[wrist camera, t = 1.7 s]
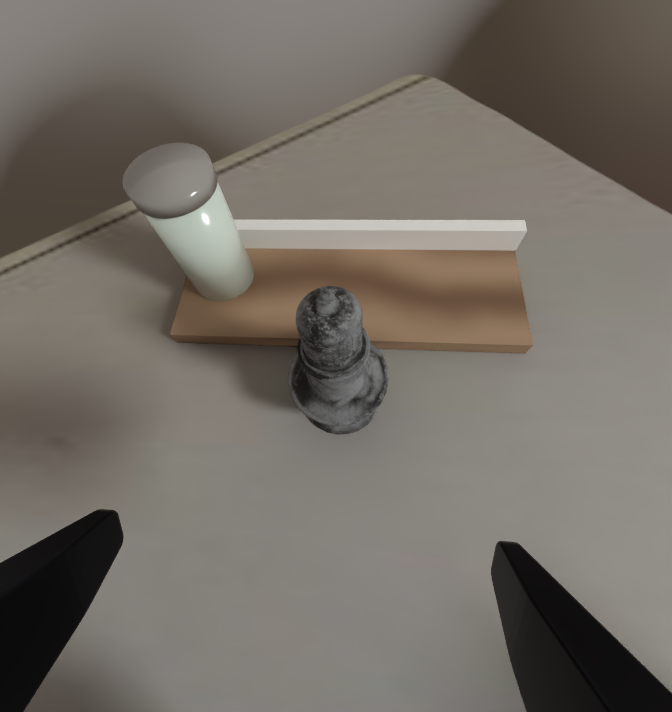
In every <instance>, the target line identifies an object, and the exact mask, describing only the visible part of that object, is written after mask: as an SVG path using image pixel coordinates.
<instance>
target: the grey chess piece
mask: <svg viewBox="0 0 672 712" xmlns="http://www.w3.org/2000/svg"><path fill="white" fill-rule="evenodd" d="M296 327H297V330H298V333H299V336H300V338H299V341H298V344H297V355H296V356H295V358H294V359H293V361H292V364H291V367H290V371H289V388H290V392H291V396H292V398H293V400H294V401H295V403H296V405H297V406H298V408H299V409H300V410H301V411H302V412H303V413H304V414H305V415H307V416H308V417H309V419H310V420H311V421H312V422H313V423H314V424H315V425H316V426H317V427H318V428H320V429H322V430H324V431H326V432H329V433H334V434H349V433H352V432H355V431H358V430H360V429H362V428H363V427H365V426H366V425H367V424H368V423H369V422H370V421H371V420H372V419H373V418H374V416H375V414H376V412H377V410H378V408H379V405H380V404H381V402H382V400H383V398H384V396H385V394H386V391H387V386H388V380H389V377H388V368H387V365H386V362H385V360H384V357H383V355H382V354H381V353H380V351H379V350H378V349H377V348H376V346H375V345H373V344H372V343H371V342H370V339H369V336H368V334H367V331H366V330H365V329H364V327H363V315H362V309H361V306H360V304H359V301H358V300H357V298H356V297H355V296H354V294H352V293H351V292H349V291H348V290H346V289H344V288H341V287H336V286H324V287H320V288H317V289H315V290H313V291H312V292H310V293H308V294H307V295H306V296H305V297H304V298H303V299H302V300H301V302H300V303H299V305H298V308H297V311H296Z"/></svg>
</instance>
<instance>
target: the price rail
mask: <svg viewBox="0 0 672 712" xmlns="http://www.w3.org/2000/svg"><path fill="white" fill-rule="evenodd" d="M234 222H235V225H236V227H237V229H238V232H239V234H240V237H241V239H242V241H243V244H244V246H245V248H269V249H387V250H505V251H516V249H517V247H518V246H519V244H520V242H521V241H522V239H523V237H524V235H525V234H526V232H527V228H526V223H525V220H234Z"/></svg>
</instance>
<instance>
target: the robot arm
mask: <svg viewBox="0 0 672 712" xmlns="http://www.w3.org/2000/svg"><path fill="white" fill-rule="evenodd" d="M122 543H123V531H122V527H121V523H120V520H119V516H118V513H117V512H116V511H114V510H105V509H99V510H96V511H94V512H92V513H90V514H89V515H87V516H85V517H83V518H81V519H79V520H78V521H76V522H74V523H72V524H70V525H69V526H67V527H65V528H63V529H61V530H59V531H58V532H56V533H54V534H52V535H50V536H49V537H47V538H45V539H43V540H41V541H39V542H38V543H36V544H34V545H32V546H30V547H29V548H27V549H25V550H23V551H21V552H19V553H18V554H16V555H14V556H12V557H10V558H8V559H7V560H5V561H3V562H1V563H0V712H23V711H24V710H25V708H26V707H27V705H28V704H29V702H30V700H31V699H32V697H33V696H34V694H35V693H36V691H37V689H38V688H39V686H40V685H41V683H42V682H43V680H44V678H45V677H46V675H47V674H48V672H49V671H50V669H51V667H52V666H53V664H54V663H55V661H56V660H57V658H58V656H59V655H60V653H61V652H62V650H63V649H64V647H65V645H66V644H67V642H68V641H69V639H70V638H71V636H72V634H73V633H74V631H75V630H76V628H77V627H78V625H79V623H80V622H81V620H82V618H83V617H84V615H85V613H86V612H87V610H88V608H89V606H90V605H91V603H92V601H93V599H94V597H95V595H96V593H97V591H98V590H99V588H100V586H101V584H102V582H103V580H104V578H105V576H106V574H107V573H108V571H109V569H110V567H111V565H112V563H113V561H114V559H115V557H116V556H117V554H118V552H119V550H120V548H121V546H122ZM491 576H492V582H493V586H494V591H495V595H496V600H497V604H498V609H499V613H500V618H501V622H502V626H503V631H504V635H505V640H506V644H507V649H508V653H509V657H510V661H511V664H512V667H513V671H514V674H515V677H516V680H517V683H518V687H519V690H520V693H521V696H522V699H523V702H524V705H525V708H526V711H527V712H672V693H671V692H670V691H669V690H668V689H667V688H666V687H665V686H664V685H663V684H662V683H661V682H660V681H659V680H658V679H657V678H656V677H655V676H654V675H653V674H652V673H651V672H650V671H649V670H648V669H647V668H646V667H645V666H643V665H642V664H641V663H640V662H639V661H638V660H637V659H636V658H635V657H634V656H633V655H632V654H631V653H630V652H629V651H628V650H627V649H626V648H625V647H624V646H623V645H622V644H621V643H620V642H619V641H618V640H617V639H616V638H615V637H614V636H613V635H612V634H611V633H610V632H609V631H608V630H607V629H606V628H605V627H604V626H603V625H602V624H601V623H599V622H598V621H597V620H596V619H595V618H594V617H593V616H592V615H591V614H590V613H589V612H588V611H587V610H586V609H585V608H584V607H583V606H582V605H581V604H580V603H579V602H578V601H577V600H576V599H575V598H574V597H573V596H572V595H571V594H570V593H569V592H568V591H567V590H566V589H565V588H564V587H563V586H562V585H561V584H560V583H559V582H558V581H557V580H555V579H554V578H553V577H552V576H551V575H550V574H549V573H548V572H547V571H546V570H545V569H544V568H543V567H542V566H541V565H540V564H539V563H538V562H537V561H536V560H535V559H534V558H533V557H532V556H531V555H530V554H529V553H528V552H527V551H526V550H525V549H524V548H523V547H522V546H521V545H519V544H518V543H516V542H507V541H499V542H498V543H497V544H496V548H495V553H494V557H493V562H492V567H491Z"/></svg>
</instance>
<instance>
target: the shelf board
mask: <svg viewBox="0 0 672 712" xmlns="http://www.w3.org/2000/svg"><path fill="white" fill-rule="evenodd" d="M245 249H246V251H247V253H248V256H249V258H250V261H251V263H252V265H253V268H254V278H253V281H252V283H251V285H250V286H249V288H248V289H247V290H246V291H245V292H244V293H242V294H241V295H239V296H238V297H236V298H233V299H231V300H227V301H212V300H208V299H206V298H204V297H203V296H202V295H200V293H199V292H198V291H197V289H196V288H195V287H194V285H193V284H192V282H191V281H190V279H189V278H188V277H187V278H186V281H185V285H184V288H183V291H182V295H181V298H180V301H179V305H178V308H177V311H176V315H175V318H174V321H173V325H172V328H171V331H170V336H171V337H172V338H173V339H174V340H175V341H176V342H182V343H213V344H245V345H276V346H297V344H298V341H299V338H300V336H299V333H298V330H297V327H296V311H297V308H298V305H299V303H300V302H301V300H302V299H303V298H304V297H305V296H306V295H307V294H308V293H310V292H312V291H313V290H315V289H317V288H320V287H324V286H336V287H341V288H344V289H346V290H348V291H349V292H351V293H352V294H354V296H355V297H356V298H357V300H358V301H359V304H360V306H361V309H362V315H363V327H364V329H365V330H366V331H367V334H368V336H369V339H370V342H371V343H372V344H373V345H375V346H376V348H377V349H402V350H434V351H465V352H497V353H526V352H527V351H528V350H529V349H530V348H531V347H532V346H533V344H532V339H531V334H530V328H529V323H528V318H527V312H526V307H525V302H524V297H523V291H522V286H521V281H520V275H519V270H518V265H517V259H516V254H515V251H505V250H387V249H269V248H245Z"/></svg>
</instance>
